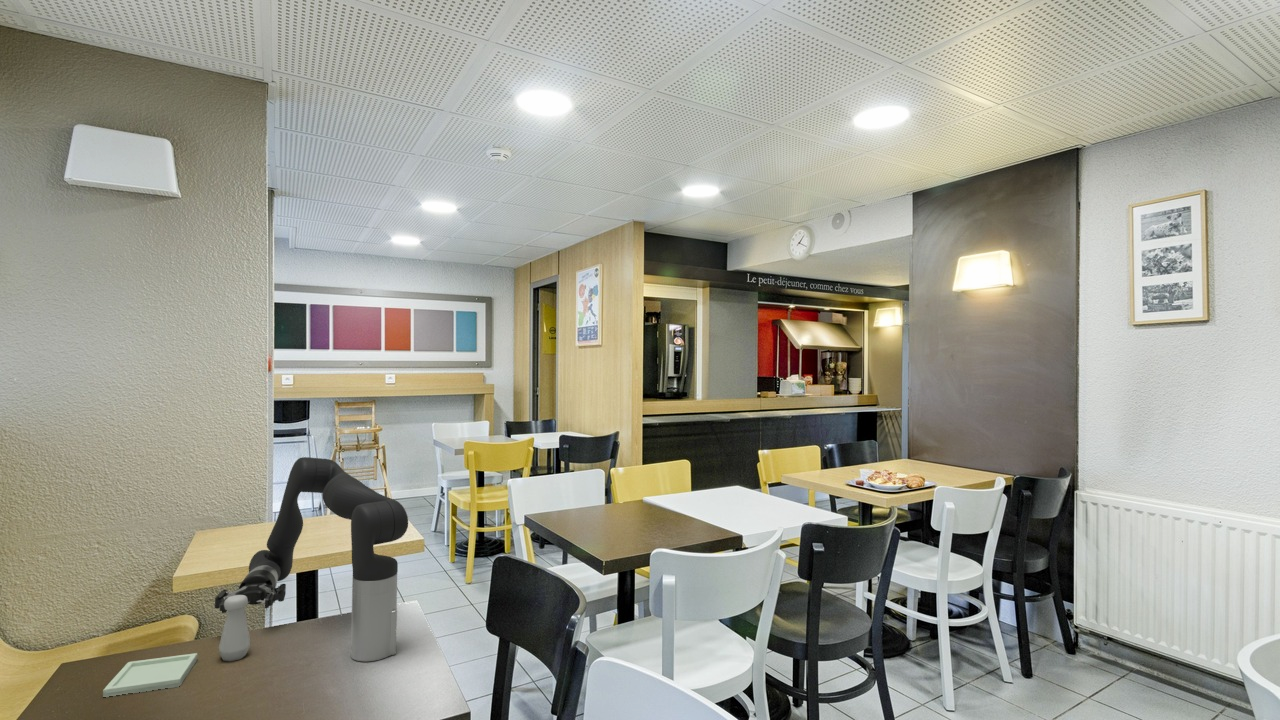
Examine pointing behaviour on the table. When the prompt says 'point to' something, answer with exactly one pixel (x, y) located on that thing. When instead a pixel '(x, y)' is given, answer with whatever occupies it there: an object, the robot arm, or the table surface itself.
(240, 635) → the salt shaker
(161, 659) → the tray
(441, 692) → the table surface
